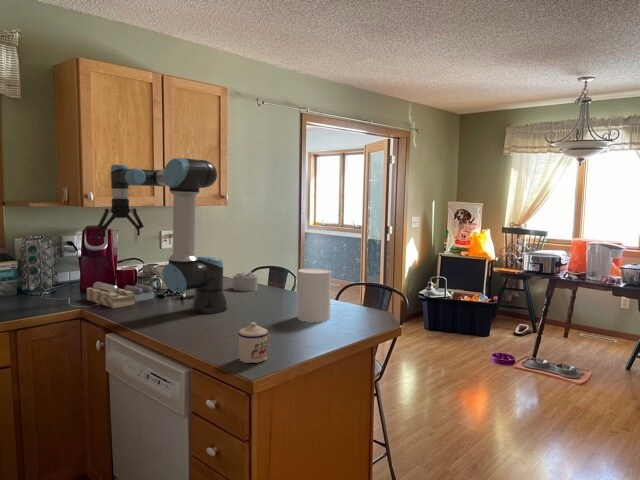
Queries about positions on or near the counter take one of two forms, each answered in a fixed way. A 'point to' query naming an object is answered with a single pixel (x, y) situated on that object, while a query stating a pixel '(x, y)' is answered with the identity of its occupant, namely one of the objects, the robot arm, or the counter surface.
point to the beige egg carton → (111, 297)
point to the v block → (141, 292)
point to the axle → (106, 287)
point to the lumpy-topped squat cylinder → (245, 282)
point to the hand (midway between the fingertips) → (121, 243)
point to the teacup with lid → (253, 343)
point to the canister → (314, 294)
